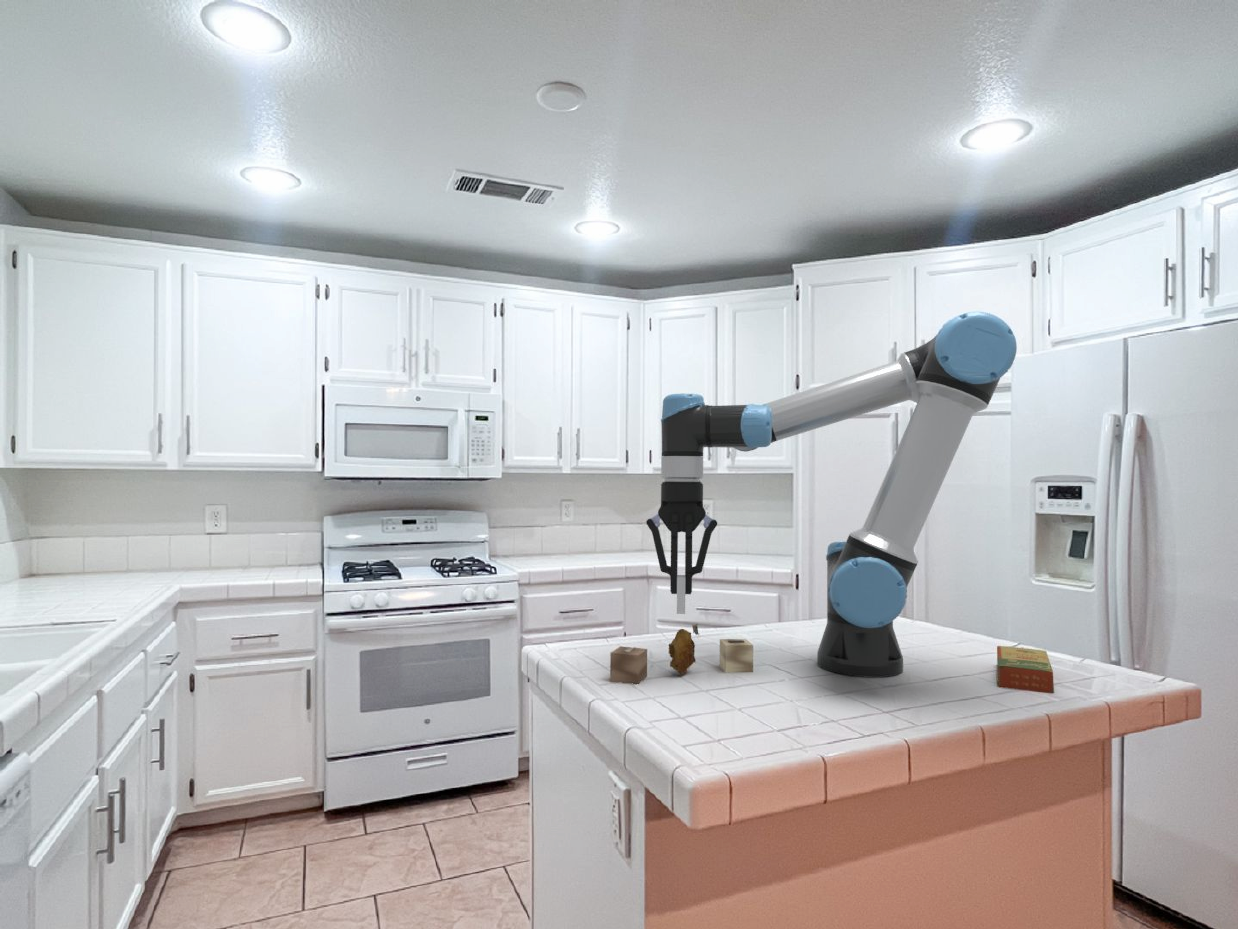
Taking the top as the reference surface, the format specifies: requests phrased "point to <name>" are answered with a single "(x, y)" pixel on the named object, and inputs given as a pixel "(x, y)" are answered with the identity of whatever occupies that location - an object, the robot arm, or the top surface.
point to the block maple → (736, 655)
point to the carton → (1024, 669)
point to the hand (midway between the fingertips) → (680, 612)
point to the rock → (682, 650)
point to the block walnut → (628, 665)
